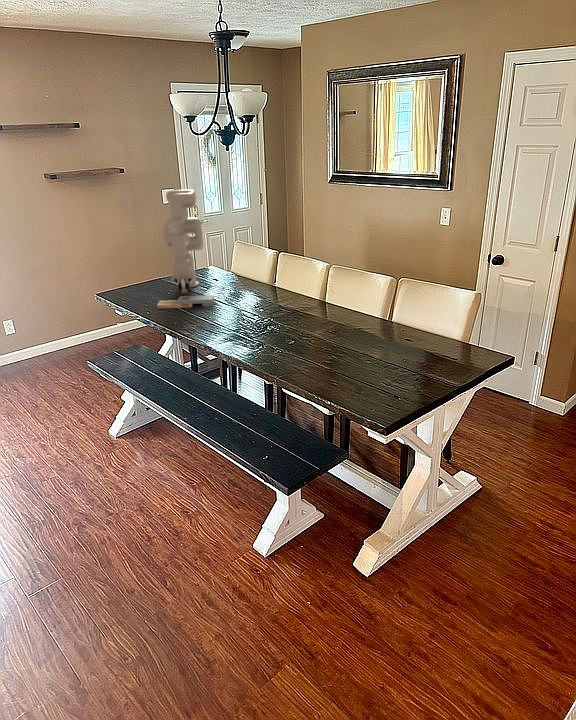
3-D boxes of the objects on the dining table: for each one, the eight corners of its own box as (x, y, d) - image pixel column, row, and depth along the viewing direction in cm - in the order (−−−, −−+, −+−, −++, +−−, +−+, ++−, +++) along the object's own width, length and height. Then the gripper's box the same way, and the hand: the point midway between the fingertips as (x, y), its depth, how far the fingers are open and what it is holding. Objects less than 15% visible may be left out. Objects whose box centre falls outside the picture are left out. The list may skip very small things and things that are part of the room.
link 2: (180, 303, 318) (179, 296, 316) (214, 301, 318) (213, 295, 316) (178, 307, 311) (177, 301, 309) (213, 306, 311) (212, 299, 309)
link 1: (159, 304, 318) (159, 300, 317) (194, 302, 318) (193, 299, 317) (157, 308, 311) (156, 305, 310) (192, 307, 311) (191, 303, 310)
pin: (182, 291, 312) (180, 276, 309) (187, 291, 312) (185, 276, 309) (181, 293, 309) (179, 278, 306) (187, 293, 309) (185, 277, 306)
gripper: (195, 255, 306) (199, 287, 314) (166, 257, 306) (171, 288, 314) (194, 259, 299) (197, 291, 307) (164, 260, 299) (168, 292, 307)
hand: (184, 289), depth 310 cm, fingers closed on pin, 3 cm apart
